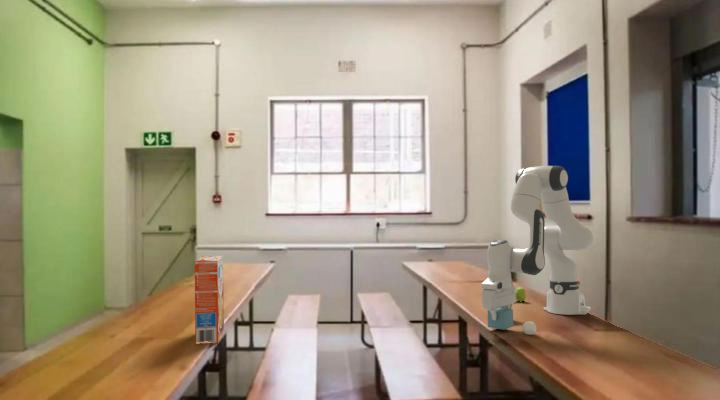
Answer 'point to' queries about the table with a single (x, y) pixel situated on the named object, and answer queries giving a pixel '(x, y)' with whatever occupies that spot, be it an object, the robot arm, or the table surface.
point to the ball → (529, 328)
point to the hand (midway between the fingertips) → (500, 318)
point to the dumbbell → (520, 294)
